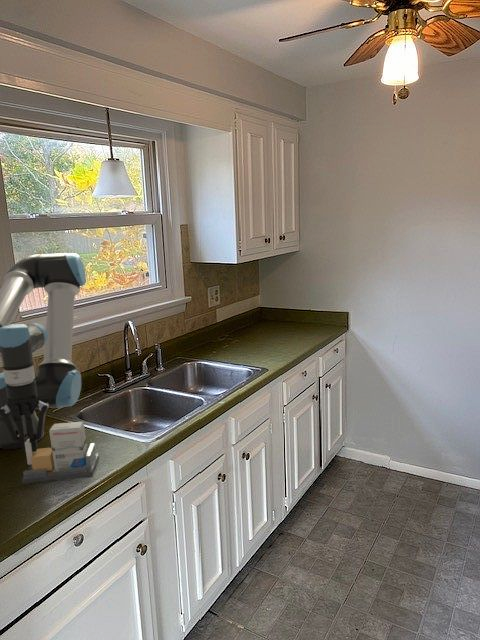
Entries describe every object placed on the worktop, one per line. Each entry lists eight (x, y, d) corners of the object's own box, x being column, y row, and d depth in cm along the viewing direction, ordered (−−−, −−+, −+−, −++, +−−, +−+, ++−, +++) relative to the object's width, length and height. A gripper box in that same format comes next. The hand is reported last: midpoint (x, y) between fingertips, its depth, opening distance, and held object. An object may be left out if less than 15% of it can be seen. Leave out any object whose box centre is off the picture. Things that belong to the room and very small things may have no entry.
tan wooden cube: (38, 463, 139) (36, 449, 138) (56, 461, 139) (54, 447, 138) (33, 472, 134) (30, 457, 133) (51, 470, 134) (49, 455, 133)
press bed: (34, 464, 142) (31, 447, 140) (98, 458, 144) (96, 440, 143) (22, 483, 131) (19, 465, 130) (92, 476, 133) (90, 458, 132)
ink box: (89, 458, 140) (84, 420, 138) (85, 467, 135) (80, 427, 133) (58, 461, 139) (53, 422, 137) (53, 469, 134) (48, 429, 132)
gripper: (-10, 388, 127) (2, 471, 131) (41, 384, 128) (52, 466, 133) (0, 379, 134) (12, 458, 139) (49, 375, 135) (59, 453, 140)
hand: (31, 462), depth 136 cm, fingers closed
